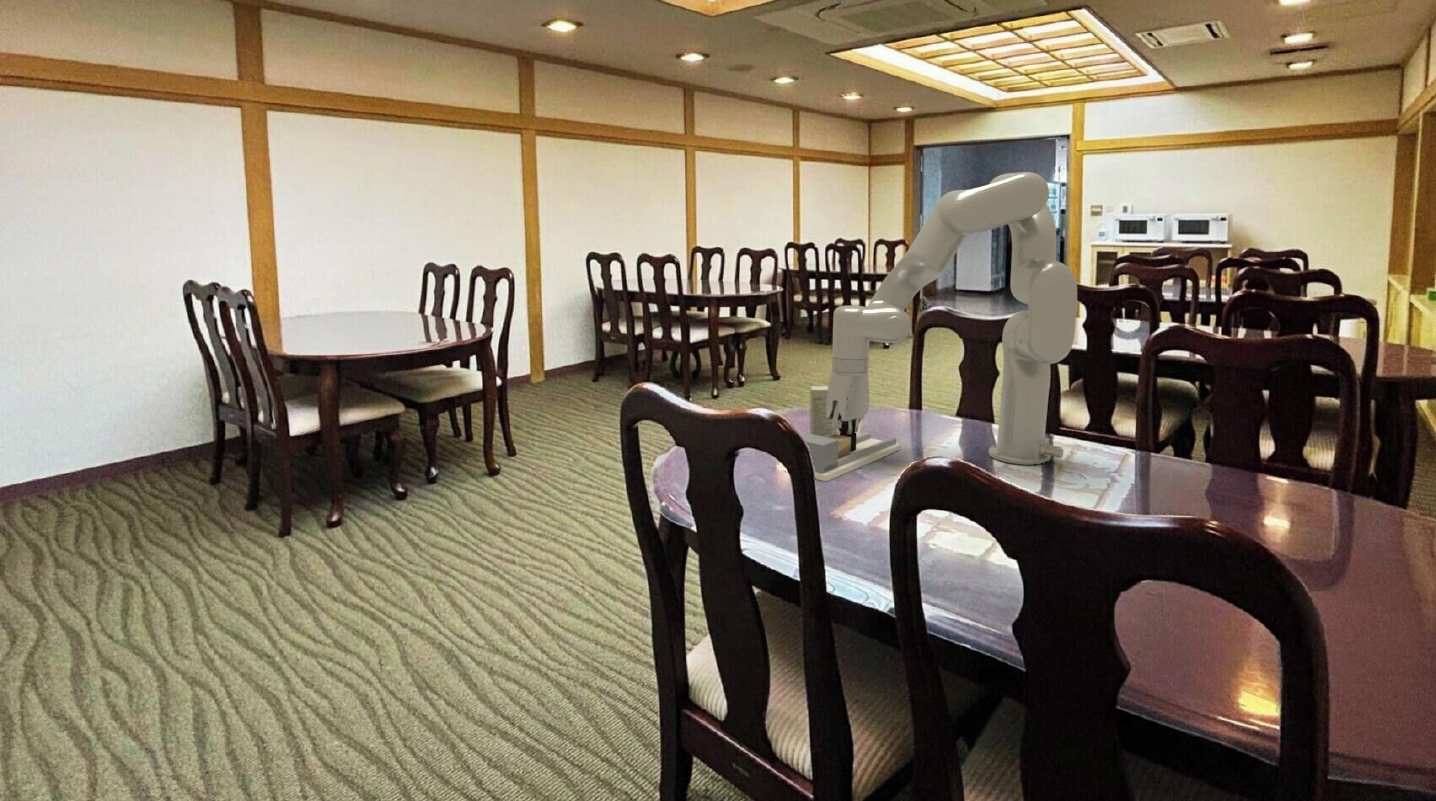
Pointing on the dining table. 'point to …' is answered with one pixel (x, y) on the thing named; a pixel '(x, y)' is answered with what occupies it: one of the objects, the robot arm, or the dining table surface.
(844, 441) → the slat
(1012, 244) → the robot arm
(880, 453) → the board
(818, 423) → the skincare box
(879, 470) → the dining table surface
